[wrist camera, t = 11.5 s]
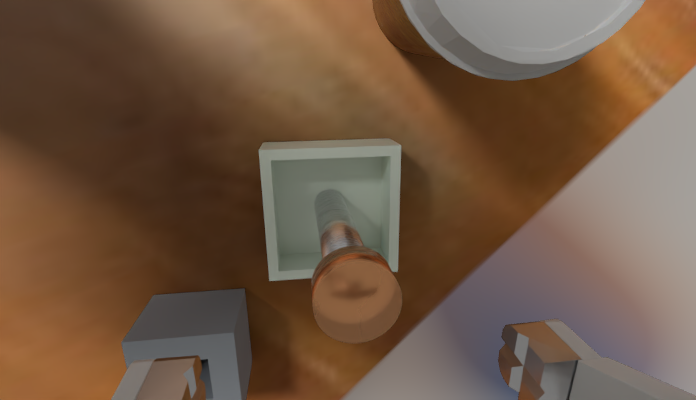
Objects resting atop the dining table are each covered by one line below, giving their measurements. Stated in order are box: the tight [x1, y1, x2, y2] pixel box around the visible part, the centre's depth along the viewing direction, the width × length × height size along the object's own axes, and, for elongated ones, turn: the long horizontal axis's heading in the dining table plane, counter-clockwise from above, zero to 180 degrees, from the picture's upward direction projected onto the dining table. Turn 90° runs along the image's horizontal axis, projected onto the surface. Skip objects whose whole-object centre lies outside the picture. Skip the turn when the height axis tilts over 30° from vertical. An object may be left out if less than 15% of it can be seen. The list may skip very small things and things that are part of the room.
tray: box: [259, 138, 401, 281], centre depth 24 cm, size 8×8×3 cm
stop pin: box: [311, 189, 402, 343], centre depth 19 cm, size 3×3×12 cm
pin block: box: [121, 288, 252, 400], centre depth 25 cm, size 6×6×5 cm
